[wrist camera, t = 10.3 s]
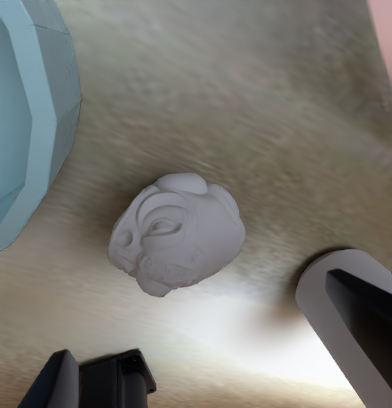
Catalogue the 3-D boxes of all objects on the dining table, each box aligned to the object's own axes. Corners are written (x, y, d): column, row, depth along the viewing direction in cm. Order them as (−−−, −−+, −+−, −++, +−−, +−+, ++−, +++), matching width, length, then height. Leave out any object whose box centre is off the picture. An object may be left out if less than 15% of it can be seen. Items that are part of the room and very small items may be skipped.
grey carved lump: (119, 141, 15) (114, 200, 9) (235, 161, 17) (293, 220, 11) (108, 233, 18) (98, 326, 12) (209, 240, 20) (245, 323, 14)
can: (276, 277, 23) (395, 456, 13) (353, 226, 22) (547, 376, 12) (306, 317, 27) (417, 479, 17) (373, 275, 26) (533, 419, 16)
